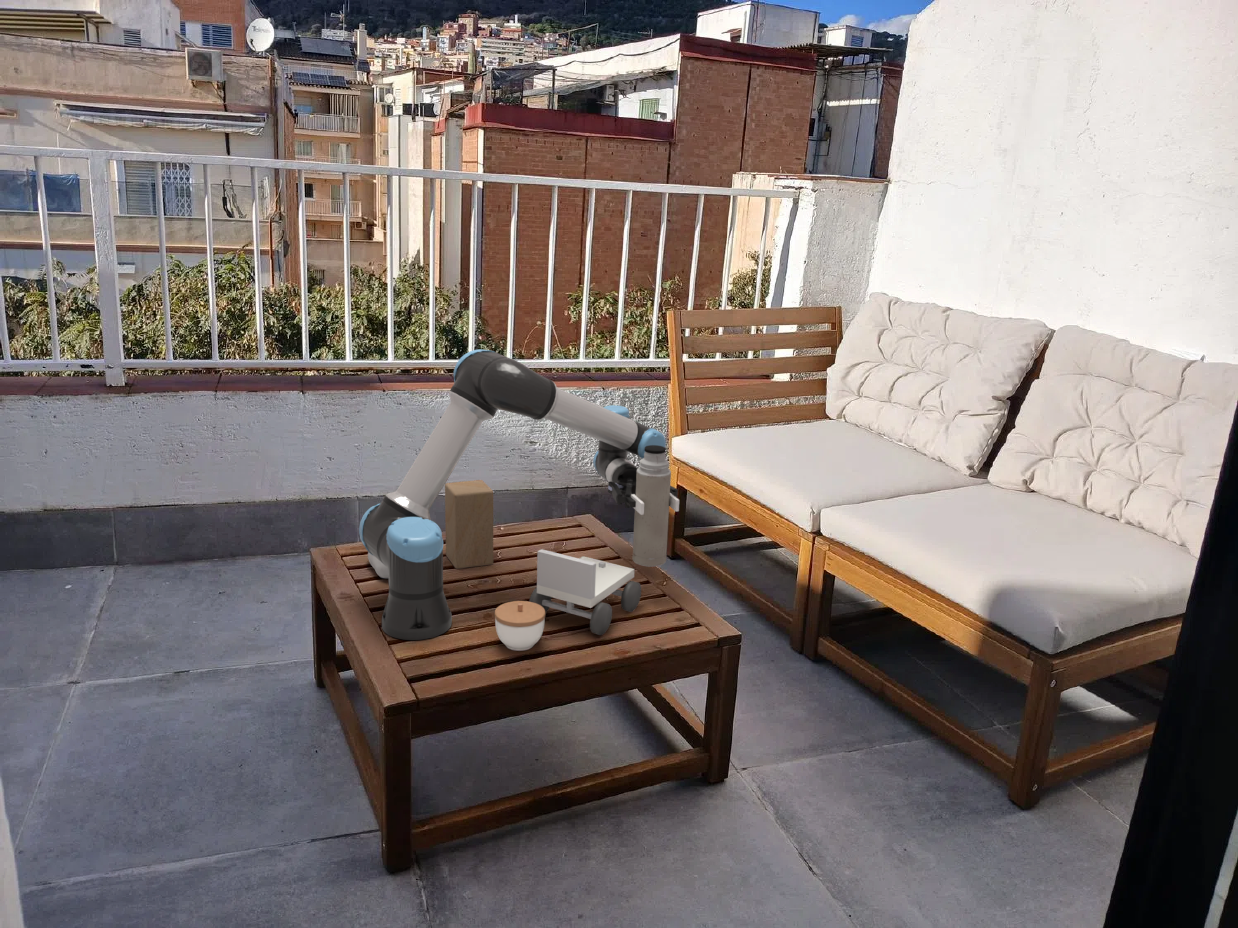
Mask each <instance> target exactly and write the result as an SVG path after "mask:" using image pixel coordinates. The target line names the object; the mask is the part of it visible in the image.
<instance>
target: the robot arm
mask: <svg viewBox="0 0 1238 928" xmlns="http://www.w3.org/2000/svg"><path fill="white" fill-rule="evenodd" d="M453 382H454V383H453V385H452V387H450V390H449V392H448V393H449V398H450V402H449V404H448V406H447V407H446V408H445V411H444V413H443V414H442V415H441V417H440V419H439V421H438V423H437V424H436V426H435V427H434V429H433V430H432V432H431V434H429V436H428V438H427V440H426V442H425V443H424V445H423V446H422V448H421V450H420V451H419V453H418V455H417V457H416V458H415V459H414V462H413V463H412V464H411V465H410V466H411V467H410V468H409V469H408V471H407V473H406V474H405V476H404V478H403V480H401V483H400V485H399V486H398V488H397V489H396V490H395V491H392V492H389V493H386V494H385V496H384V497H383V499H382V500H381V502H380V503H377V504H375V505H373V506H370V508H368V509H367V510H366V511H365V512H364V514H363V515H362V518H361V519H360V521H359V526H358V532H359V534H358V535H359V538H360V541H361V543H362V544H363V546H364V547H365V550H367V553H368V552H369V553H370V554H371V555H373V556H375V557H376V558H377V559H378V560H379V561H380V562H381V563H383V564H384V565H385V566H386V567H387V568H388V574H389V579H388V596H387V599H386V603H385V606H384V609H383V613H382V616H381V629H382V630H383V632H384V633H385V634H386V635H388V636H389V637H393V638H395V639H400V640H404V641H405V640H406V641H421V640H427V639H432V638H435V637H439V636H441V635H442V634H445V633H446V632H447V631H449V630H450V628H451V627H452V619H453V618H452V610H451V609H450V607H449V605H448V602H447V598H446V595H445V593H444V551H443V550H444V540H443V532H442V528H440V526H439V525H438V524H437V523H436V522H435V521H433V520H431V519H432V518H431V515H430V509H431V507H432V506H433V504H434V502H435V501H436V499H437V497H438V496H439V494H440V492H441V491H442V489H443V488H444V487H445V484H446V483H447V481H448V480H449V478H450V477H451V474H452V472H453V471H454V469H455V468H456V466H457V464H458V463H459V461H460V460H461V458H462V456H463V455H464V453H465V452H466V450H467V449H468V447H469V445H470V443H471V441H472V440H473V438H474V437H475V435H476V434H477V432H478V430H479V428H480V427H481V426H482V424H483V422H485V421H488V420H492V419H493V418H494V416H495V415H496V413H497V412H498V411H499V410H501V411H503V412H509V413H513V414H517V415H520V416H524V417H528V418H531V419H533V420H536V421H541V420H543V419H546V420H548V421H550V422H553V423H555V424H558V425H559V426H563V427H564V428H568V429H571V430H572V431H576V432H578V433H579V434H582V435H585V436H587V437H590V438H593V439H596V440H598V449H597V451H596V452H595V454H594V456H593V459H592V464H593V468H594V469H595V471H596V473H598V475H599V476H600V477H601V478H603V479H604V480H606V481H607V482H608V483H607V485H608V486H607V492H608V493H610V495H612V498H613V500H614V501H615V503H616V504H617V505H622V504H623V503H624V508H626V509H629V508H633V510H634V511H635V510H636V511H637V512H638V513H639V514H641V515H643V514H644V503H643V502H642V501H641V500H640V499H639V498H638V497H637V496H636V474H637V469H638V468H639V467H637V466H636V465H634V463H632V462H631V461H630V460H628V453H629V454H632V455H635V456H637V457H639V458H641V459H643V458H644V453H645V451H644V449H645V447H646V446H649V445H658V446H663V447H665V448H666V446H667V445H666V443H667V442H666V438H665V436H664V434H663V433H662V432H661V431H659V430H658V429H655V428H652V427H649V426H648V425H645V424H643V423H640V422H638V421H635V420H633V419H631V418H630V410H629V409H628V408H627V407H625V406H623V405H612V404H611V405H606V406H604V407H603V406H600V405H598V404H596V403H594V402H592V401H588V400H586V399H584V398H582V397H580V396H578V395H575V394H573V393H571V392H569V391H566V390H564V389H561V388H559V387H557V385H556V382H554V381H553V380H552V379H549V378H547V377H545V376H543V375H541V374H539V373H538V372H536V371H534V370H533V369H531V368H529V367H528V366H526V365H524V364H523V363H521V362H519V361H518V360H515V359H512V358H510V357H508V356H505V355H502V354H500V353H498V352H496V351H494V350H489V349H474V350H471V351H468V352H467V353H466V352H465V354H463V355H462V356H461V357H460V358H459V360H457V362H456V364H455V367H454V369H453ZM678 491H679V489H678V488H675V487H674V486H672V485H670V499H669V508H671V509H672V510H673V511H674V512H679V511H680V499H679V498H678V494H679V492H678Z"/></svg>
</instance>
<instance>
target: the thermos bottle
mask: <svg viewBox="0 0 1238 928" xmlns="http://www.w3.org/2000/svg"><path fill="white" fill-rule="evenodd" d="M644 451H645V453H644V458H641V459H640V461H639V467H637V468H638V469H637V474H636V494H635V495H636V496H637V497H638V498H639V499H640V500H641V501H642V502H643V503H644V514H643V515H641V514H639V513H638V512H637V511H636V510H635V509H634V522H633V523H634V524H633V538H632V539H633V540H632V541H633V543H632V562H634V563H635V564H636V565H639V566H642V567H650V568H651V567H659V566H663V565H665V563H666V562H667V550H668V549H667V548H668V532H669V531H668V530H669V515H670V514H669V513H670V512H669V511H670V506H669V499H670V486H671V480H672V471H671V470H670V469H669V467H670V463H669V461H668V460H667V459H666V451H667V449H666V446H665V447H663V446H658V445H649V446H646V447H645V449H644Z"/></svg>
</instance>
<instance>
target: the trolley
mask: <svg viewBox="0 0 1238 928" xmlns="http://www.w3.org/2000/svg"><path fill="white" fill-rule="evenodd" d="M536 559H537V561H536V563H537V564H536V571H537V572H536V586H535V588H534V589H533V590H532V593H531V594H530V597H529V601H528V602H533V603H536V604H539V605H541V606H542V607H543V608H544V609H545V615H546V614H547V612H548V610H549V609H550V608H551V609H554V610H557V611H561V612H564V613H565V612H566V613H568V614H572V615H576V616H578V617H583V618H586V619H589V629H590V632H591V633H592V634H595V635H598V636H603V635H604V634H605V633H606V632H607V631H608V629H609V628H610V626H611V621H612V617H613V608H612V606H611V605H610V604H609V603H606V602H602V601H603V600H604V599H605V598H607V597H608V596H610V595H614V596H618V597H621V598H620V606H621V609H622V610H623V611H626V612H630V613H632V612H634V611H635V610H636V609H637V607H638V605H639V604H640V600H641V597H642V586H641V583H640V582H638V581H634V580H632V579H634V578H635V568H631V567H627V566H623V565H619V564H616V563H612V562H608V561H604V560H600V559H595V558H592V557H588V556H584V555H582V556H581V557H579V558H578V557H574V556H570V555H566V554H562V553H557V552H555V551H550V550H546V549H542V548H541V549H539V550H537V557H536ZM624 585H625V586H624ZM623 586H624V587H623ZM621 587H623V590H620V588H621ZM552 598H554V599H557V600H561V601H564V602H566V605H565V604H563V603H559V602H555V601H552ZM575 605H578V606H583V607H585V608H590V609H591V608H593V607H594V608H593V611H592V612H590V611H586V610H583V609H581V608H580V609H579V608H577V607H575Z"/></svg>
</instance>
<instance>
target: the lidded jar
mask: <svg viewBox="0 0 1238 928" xmlns="http://www.w3.org/2000/svg"><path fill="white" fill-rule="evenodd" d="M545 618H546V614H545V609H544V608H543V607H542V606H541V605H539V604H536V603H533V602H529V601H527V600H514V601H512V600H511V601H508V602H505V603H502V604H500V605H498V606H497V607H496V608H495V610H494V619H495V620H494V622H495V623H494V624H495V631H496V634H497V636H498V638H499V641H501V642H502V643H503V644H504V645H505V647H506V648H507V649H508V650H511V651H515V652H516V651H518V652H520V651H528V650H530V649H532V648H533V647H534V646H535V644H537V643H538V642H539V640H540V639H541V638H542V636H543V633H544V632H543V631H544V629H545V623H546V622H545Z"/></svg>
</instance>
